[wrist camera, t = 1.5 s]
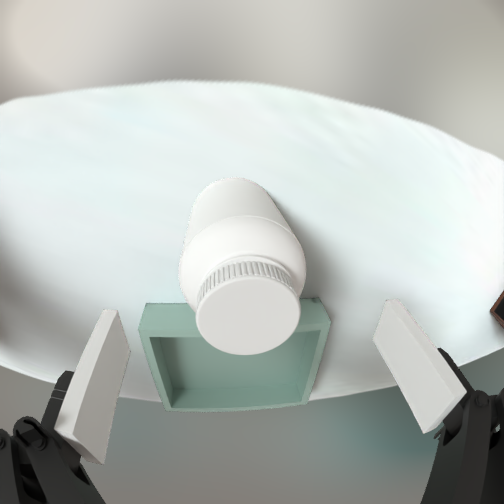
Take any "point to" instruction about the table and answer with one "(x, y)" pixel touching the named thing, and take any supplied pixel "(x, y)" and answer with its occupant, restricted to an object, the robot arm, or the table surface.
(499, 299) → the letter holder
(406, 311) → the robot arm
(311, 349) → the box
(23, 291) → the table surface
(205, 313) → the pill bottle
